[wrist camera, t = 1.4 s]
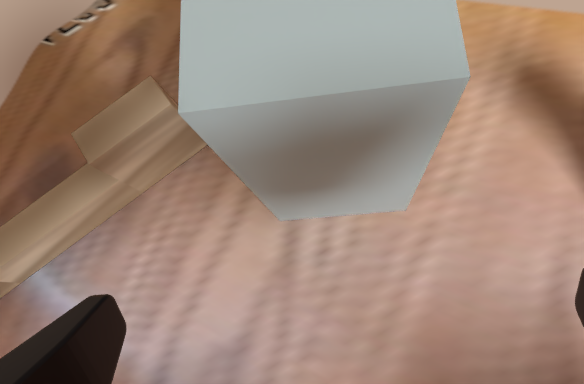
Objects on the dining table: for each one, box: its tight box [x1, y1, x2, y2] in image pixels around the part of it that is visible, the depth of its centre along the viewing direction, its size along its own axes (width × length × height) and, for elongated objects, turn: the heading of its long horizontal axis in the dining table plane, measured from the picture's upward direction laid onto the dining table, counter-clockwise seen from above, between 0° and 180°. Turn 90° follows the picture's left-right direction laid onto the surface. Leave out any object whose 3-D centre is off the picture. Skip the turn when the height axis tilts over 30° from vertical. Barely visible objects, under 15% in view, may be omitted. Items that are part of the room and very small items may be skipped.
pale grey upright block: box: [178, 0, 470, 221], centre depth 16 cm, size 6×7×13 cm
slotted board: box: [0, 76, 208, 298], centre depth 22 cm, size 2×18×5 cm, turn 126°
